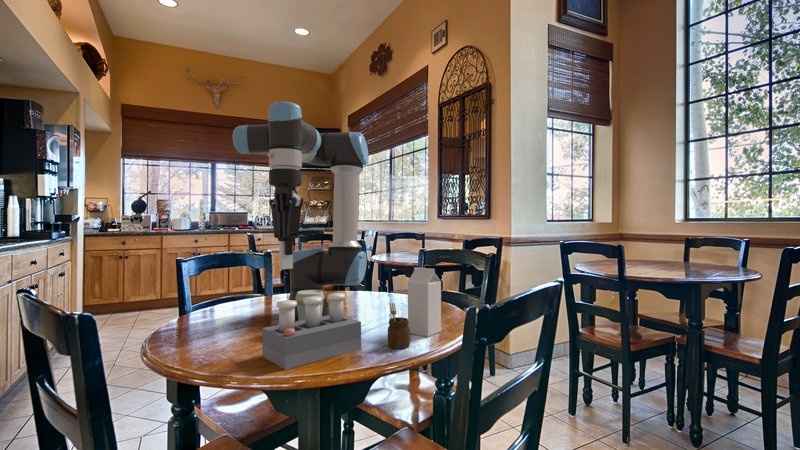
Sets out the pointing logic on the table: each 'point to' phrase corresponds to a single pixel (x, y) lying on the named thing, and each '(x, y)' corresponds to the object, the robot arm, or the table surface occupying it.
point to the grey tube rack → (310, 342)
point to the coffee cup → (301, 305)
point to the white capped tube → (286, 314)
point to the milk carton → (424, 302)
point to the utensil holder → (398, 330)
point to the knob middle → (312, 311)
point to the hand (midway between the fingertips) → (286, 268)
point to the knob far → (336, 306)
